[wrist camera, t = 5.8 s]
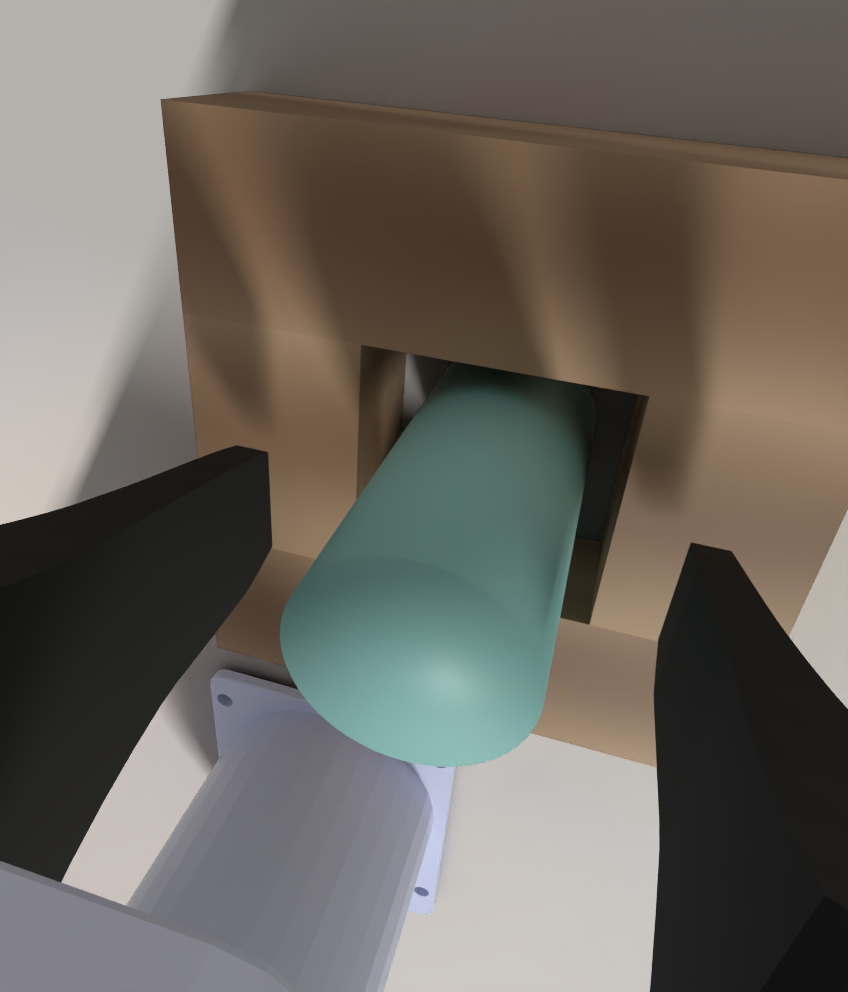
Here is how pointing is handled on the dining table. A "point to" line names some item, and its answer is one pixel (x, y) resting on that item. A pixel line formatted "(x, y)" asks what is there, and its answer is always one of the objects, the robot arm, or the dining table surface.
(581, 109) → the dining table surface
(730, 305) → the socket block
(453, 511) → the peg
